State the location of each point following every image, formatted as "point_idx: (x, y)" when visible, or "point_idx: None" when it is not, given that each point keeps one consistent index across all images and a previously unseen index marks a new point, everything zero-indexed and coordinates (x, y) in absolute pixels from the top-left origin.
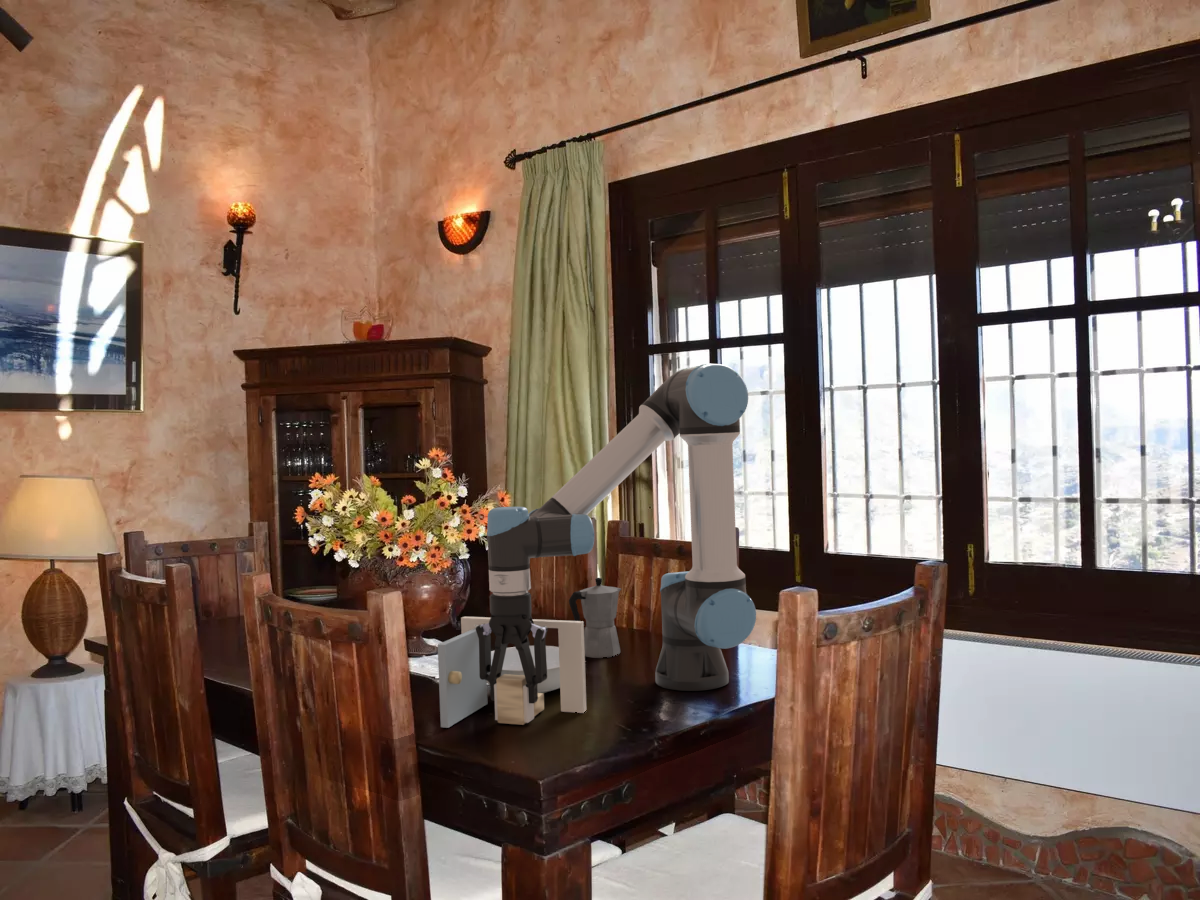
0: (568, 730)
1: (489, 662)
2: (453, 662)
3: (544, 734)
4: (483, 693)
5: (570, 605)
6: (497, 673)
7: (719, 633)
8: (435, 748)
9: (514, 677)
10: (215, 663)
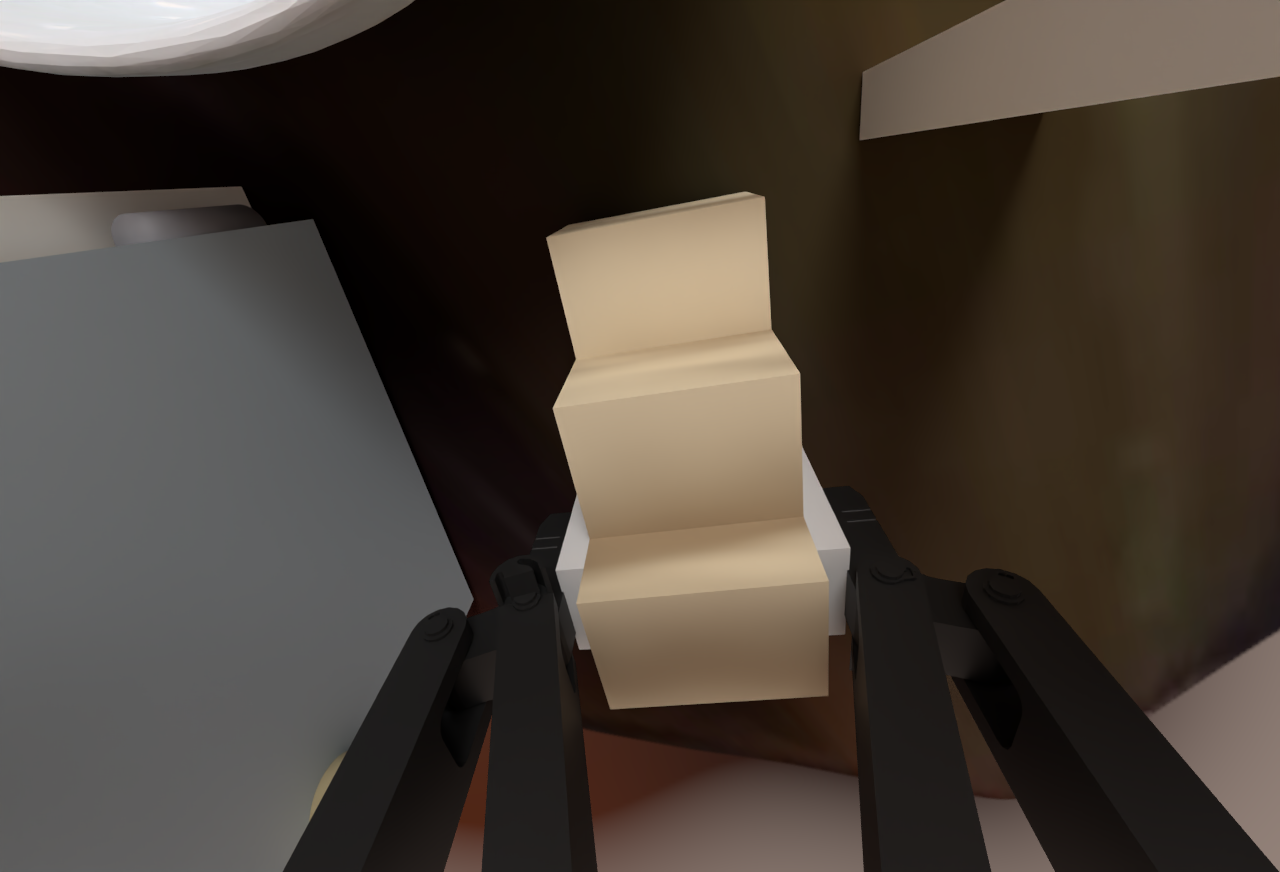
0: (1010, 449)
1: (433, 753)
2: None
3: (904, 527)
4: (281, 289)
5: None
6: (575, 698)
7: None
8: (585, 722)
9: (724, 654)
10: None
